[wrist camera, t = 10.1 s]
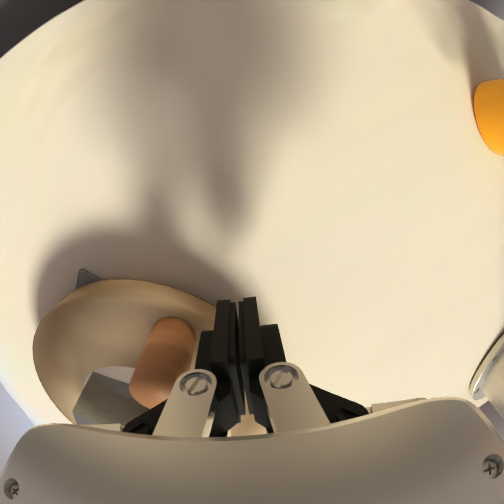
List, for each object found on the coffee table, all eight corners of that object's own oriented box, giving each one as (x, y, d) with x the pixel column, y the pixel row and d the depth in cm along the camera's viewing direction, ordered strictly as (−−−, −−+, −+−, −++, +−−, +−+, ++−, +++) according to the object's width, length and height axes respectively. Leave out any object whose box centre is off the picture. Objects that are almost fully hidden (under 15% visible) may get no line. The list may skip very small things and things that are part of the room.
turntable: (327, 341, 16) (361, 419, 10) (223, 462, 21) (224, 514, 15) (54, 231, 13) (-19, 273, 7) (54, 400, 18) (30, 446, 12)
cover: (185, 398, 14) (178, 446, 11) (178, 442, 16) (172, 480, 12) (93, 371, 13) (71, 411, 10) (102, 421, 15) (89, 455, 12)
